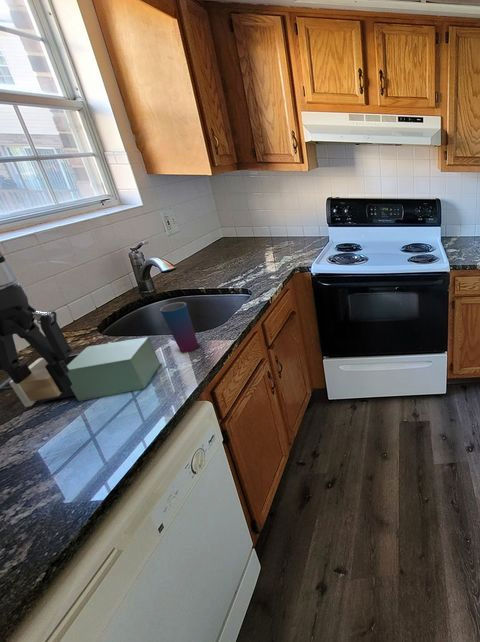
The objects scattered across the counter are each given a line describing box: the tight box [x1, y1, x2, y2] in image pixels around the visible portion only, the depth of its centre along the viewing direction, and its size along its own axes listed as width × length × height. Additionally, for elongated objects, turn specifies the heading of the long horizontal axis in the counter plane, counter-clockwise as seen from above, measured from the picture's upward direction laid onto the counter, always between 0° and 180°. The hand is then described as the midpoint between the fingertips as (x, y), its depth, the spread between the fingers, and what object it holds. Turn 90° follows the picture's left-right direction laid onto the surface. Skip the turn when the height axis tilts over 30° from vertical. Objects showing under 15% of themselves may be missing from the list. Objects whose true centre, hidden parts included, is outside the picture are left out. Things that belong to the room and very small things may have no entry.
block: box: [20, 369, 61, 401], centre depth 75 cm, size 4×4×4 cm
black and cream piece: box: [0, 353, 80, 408], centre depth 97 cm, size 19×11×8 cm, turn 109°
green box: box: [67, 336, 161, 402], centre depth 101 cm, size 15×13×10 cm
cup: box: [159, 301, 199, 353], centre depth 116 cm, size 7×7×15 cm
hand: (51, 390), depth 76 cm, fingers closed on block, 4 cm apart
